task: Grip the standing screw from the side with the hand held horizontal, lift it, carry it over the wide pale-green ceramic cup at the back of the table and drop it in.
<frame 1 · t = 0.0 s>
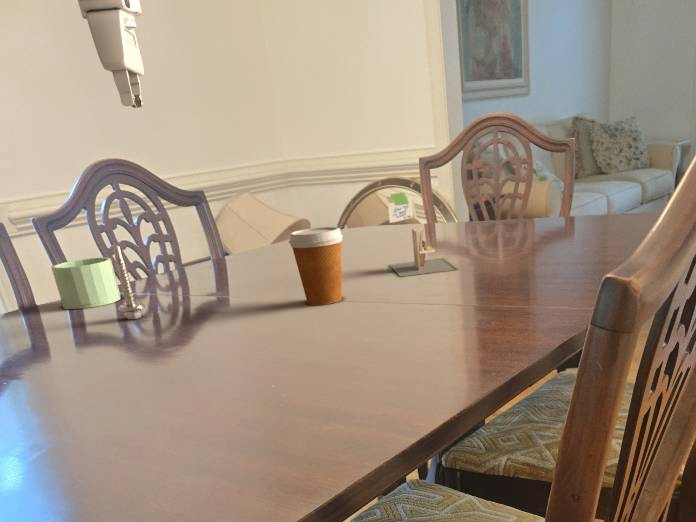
hand: (133, 106, 123), 33 cm above the table, tool pointing down, fingers open, 8 cm apart
architectural model: (421, 268, 161), on the table
disposable coffee cup: (324, 302, 140), on the table
green cup: (92, 302, 161), on the table
screw: (134, 319, 142), on the table
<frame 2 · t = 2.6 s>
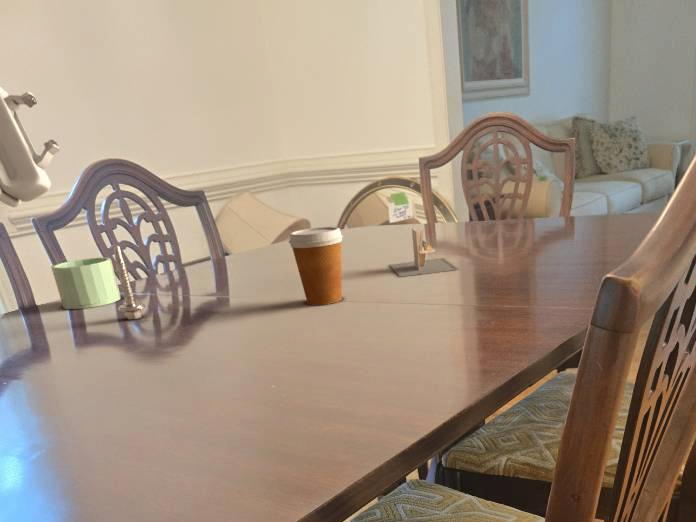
hand: (44, 120, 138), 33 cm above the table, tool pointing upward, fingers open, 8 cm apart
nothing on the table moved.
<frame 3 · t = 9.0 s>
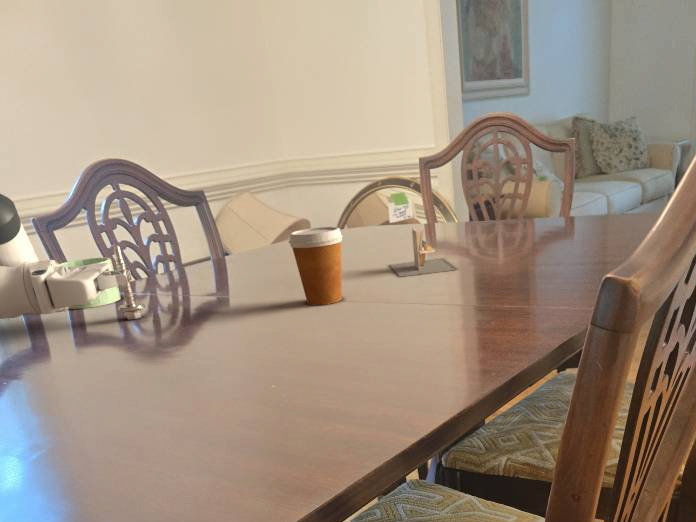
hand: (129, 277, 139), 7 cm above the table, tool horizontal, fingers closed on screw, 2 cm apart
screw: (134, 319, 142), on the table, touching gripper
everything else where it was.
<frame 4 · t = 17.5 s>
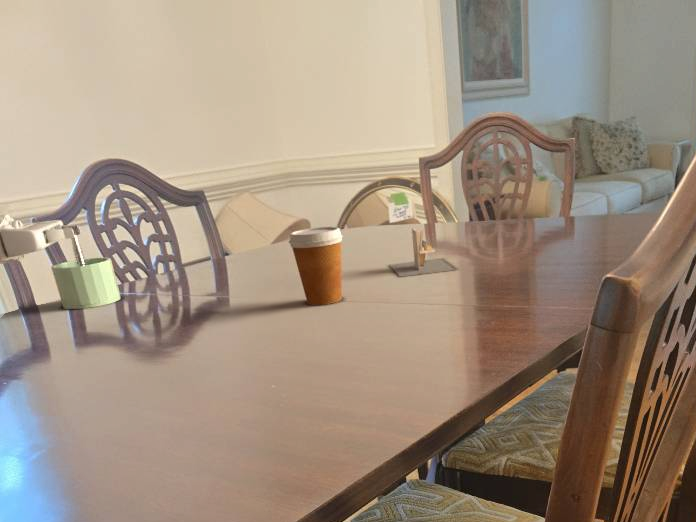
hand: (76, 231, 154), 14 cm above the table, tool horizontal, fingers open, 3 cm apart
screw: (91, 299, 161), point 1 cm above the table, touching green cup, gripper
everything else where it was.
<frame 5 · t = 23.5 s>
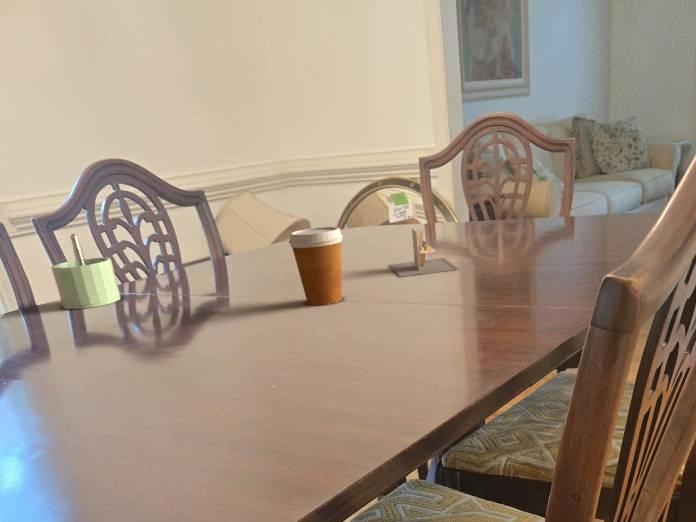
screw: (91, 300, 161), resting in green cup
everything else where it was.
at the end: screw inside the target area in the green cup (0.0 cm from its centre), point 0.4 cm above the green cup's base; the gripper is holding nothing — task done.
